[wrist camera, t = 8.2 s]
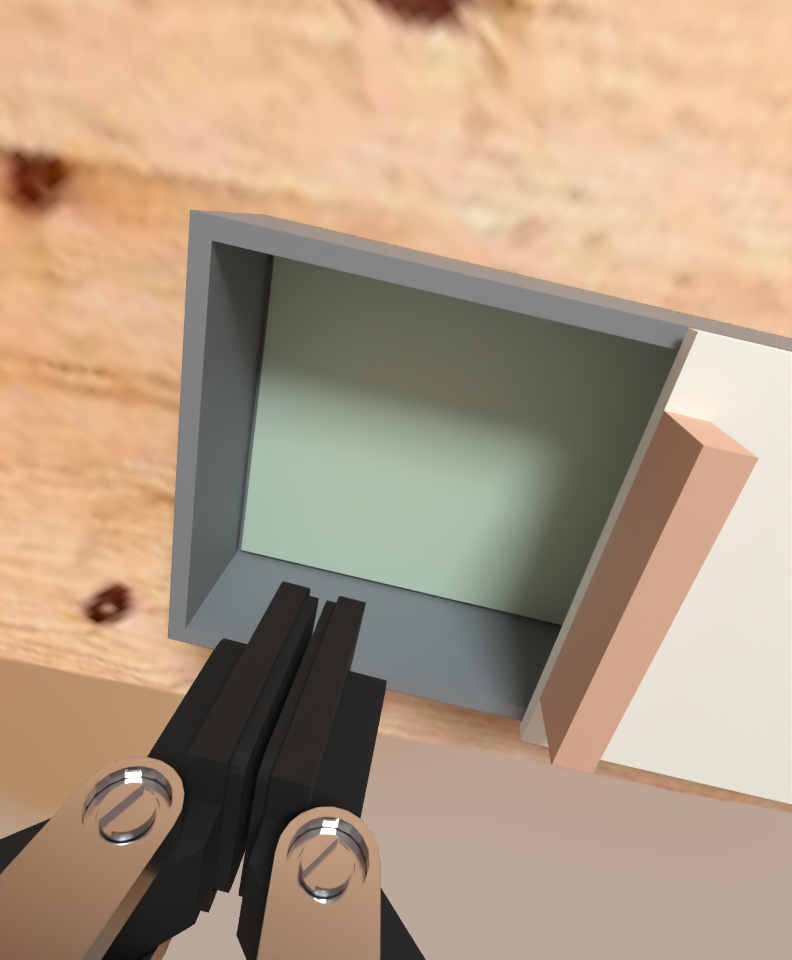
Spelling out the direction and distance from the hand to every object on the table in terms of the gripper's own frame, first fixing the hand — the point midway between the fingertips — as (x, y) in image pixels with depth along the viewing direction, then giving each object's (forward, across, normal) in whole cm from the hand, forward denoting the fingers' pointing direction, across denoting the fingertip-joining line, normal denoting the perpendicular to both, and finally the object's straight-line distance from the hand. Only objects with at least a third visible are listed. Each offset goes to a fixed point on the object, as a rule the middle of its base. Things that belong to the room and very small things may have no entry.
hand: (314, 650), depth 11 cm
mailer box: (+13, -4, 0) cm, 13 cm away
